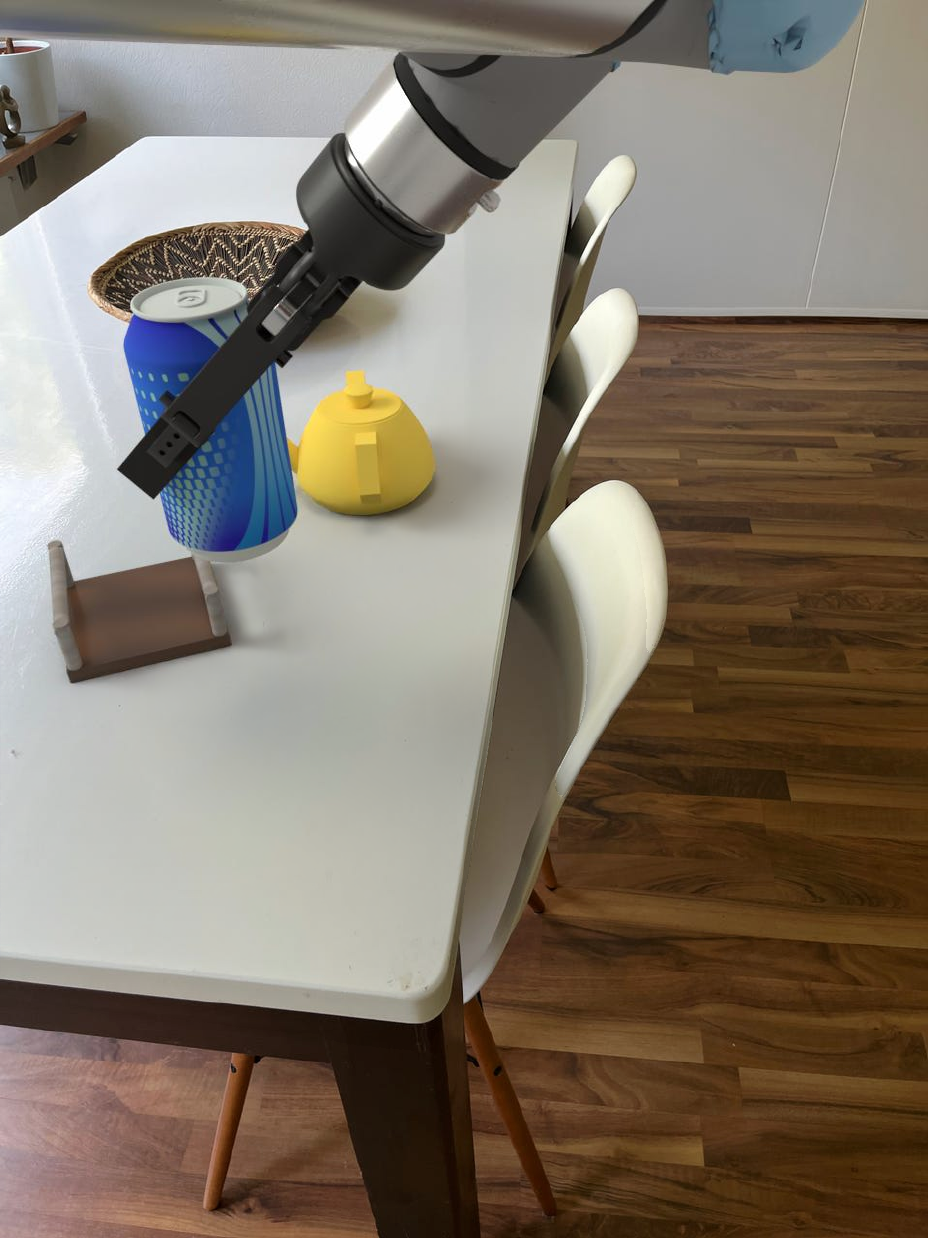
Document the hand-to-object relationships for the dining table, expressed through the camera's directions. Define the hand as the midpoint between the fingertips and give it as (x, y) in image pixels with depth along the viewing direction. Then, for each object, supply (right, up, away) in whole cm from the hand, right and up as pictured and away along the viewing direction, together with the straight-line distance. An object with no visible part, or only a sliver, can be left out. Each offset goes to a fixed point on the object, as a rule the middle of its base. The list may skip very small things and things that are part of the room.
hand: (170, 445), depth 63 cm
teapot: (+7, +3, +41) cm, 41 cm away
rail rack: (-9, -11, +23) cm, 27 cm away
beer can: (+3, -5, +3) cm, 7 cm away
